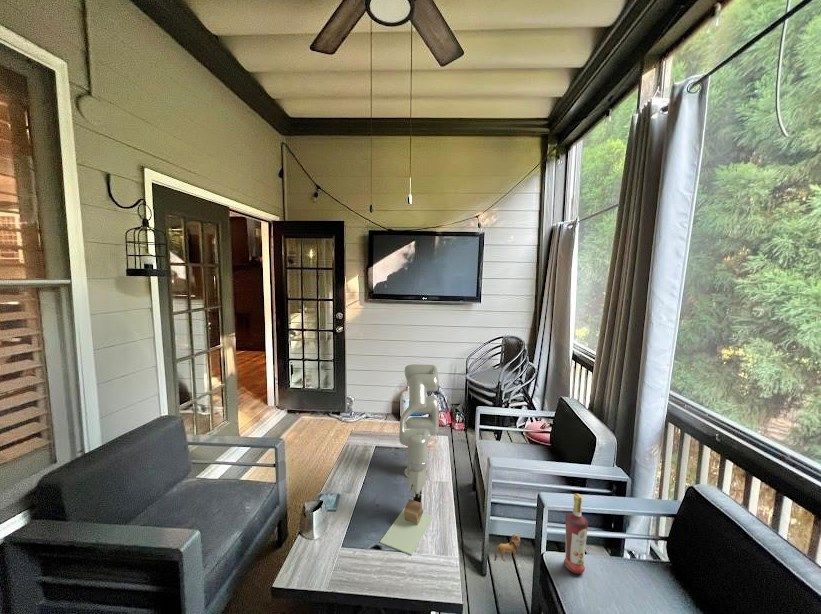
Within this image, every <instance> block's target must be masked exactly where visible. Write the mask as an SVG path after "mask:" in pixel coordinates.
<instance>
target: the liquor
mask: <svg viewBox="0 0 821 614" xmlns="http://www.w3.org/2000/svg"><path fill="white" fill-rule="evenodd" d="M582 502H583V496H582V495H581V494H580V493H574V494H573V509H572V512H568V513H567V514H565V559H564V560H563V563H564V566H565V567H566V568H567V569H568V570H569V571H570V572H571V573H573V574H577V575H578V574H581V573H584V572H585V570H586V567H585V564H584V563H585V552H586V545H587V537H588V529H589V528H588V527H589V521H588V520H587V519H586V517H584V516H583V515H582Z"/></svg>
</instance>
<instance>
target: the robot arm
mask: <svg viewBox="0 0 821 614" xmlns="http://www.w3.org/2000/svg"><path fill="white" fill-rule="evenodd" d="M404 376H405V379H406V381H407V382H406V383H407V384H408V388H409V389H408V390H409V393H408V395H409V397H408V399H409V401H408V407H407V408H406V409H405V410H404V411H403V413H402V415H401V417H400V420H399V434H398V438H399V442H400V444H401V445H403V446H407V456H406V457H407V459H406V461H407V467H405V469H404V475H405V477H407V479H408V481H407V492H409V493H410V492H411V495H410V496H411V497H412V500H414V501H417V502H420V503H422V496H423V495H422V494H423V489H424V486H425V485H426V483H427V482H426V481H427V476H428V474H429V473H428V472H429V471H428V469H427V463H428V460H427V458H428V457H427V456H428V454H427V453H428V451H427V449H428V445H429V443H430V441H431V436H437V435H438V434H439V430H440V425H439V424H440V416H439V415H440V413H439V412H440V411H439V409H440V408H439V400H438V398H437V397H436V396H435V395H434V396H433V395H427V392H437V390H438V389H439V384H440V383H439V372H438V368H437V366H436V365H434V364H408V365H406V366H405V367H404ZM414 414H415V415H429V416H412V415H414Z"/></svg>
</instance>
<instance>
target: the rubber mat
mask: <svg viewBox="0 0 821 614" xmlns="http://www.w3.org/2000/svg"><path fill="white" fill-rule="evenodd" d="M404 509H405V507H404V508H403V509H402V510H401V512H400V514H398V516H397V518H396V519H395V520H394V521H393V523H392V525H390V527H388V530H387V531H386V533H385V534H384V535H383V537H382V538H381V540H380V541H379V544H381V545H384V546H386V547H389V548H391V549H394V550H396V551H400V552H402V553H405V554H406V555H409V556H413V554H414V552H415V551H416V549H417V547H418V545H419V544H420V542H421V540H422V538H423V536H424V534H425V533H426V531H427V529H428V527H429V526H430V524H431V523H432V521H433V519H434V516H433V515H431V514H428V513H425V512H423V515H422V517H421V519H420V522H419V524H418V525H416V524H413V523H410V522H407V521H405V516H404ZM430 522H431V523H430Z"/></svg>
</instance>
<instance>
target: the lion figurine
mask: <svg viewBox="0 0 821 614" xmlns="http://www.w3.org/2000/svg"><path fill="white" fill-rule="evenodd" d="M520 544H521V538H520V535H519V534H517V533H514V534H513V535H511V538H510V542H508V543H507V542H506V543H499V544H498V545H497V547H496V549H495V550H496V551H495V553H494V560H493V561H494V562H496V561H497V558H498V553H499V552H500V558H501V560H502V561H503V562H506V558H505V557H504V556H505V553H508V554H509V555H512V556H513V558H515V559H516V558H517V555H516V553H517V550H518V549H519V548H520Z"/></svg>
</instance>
